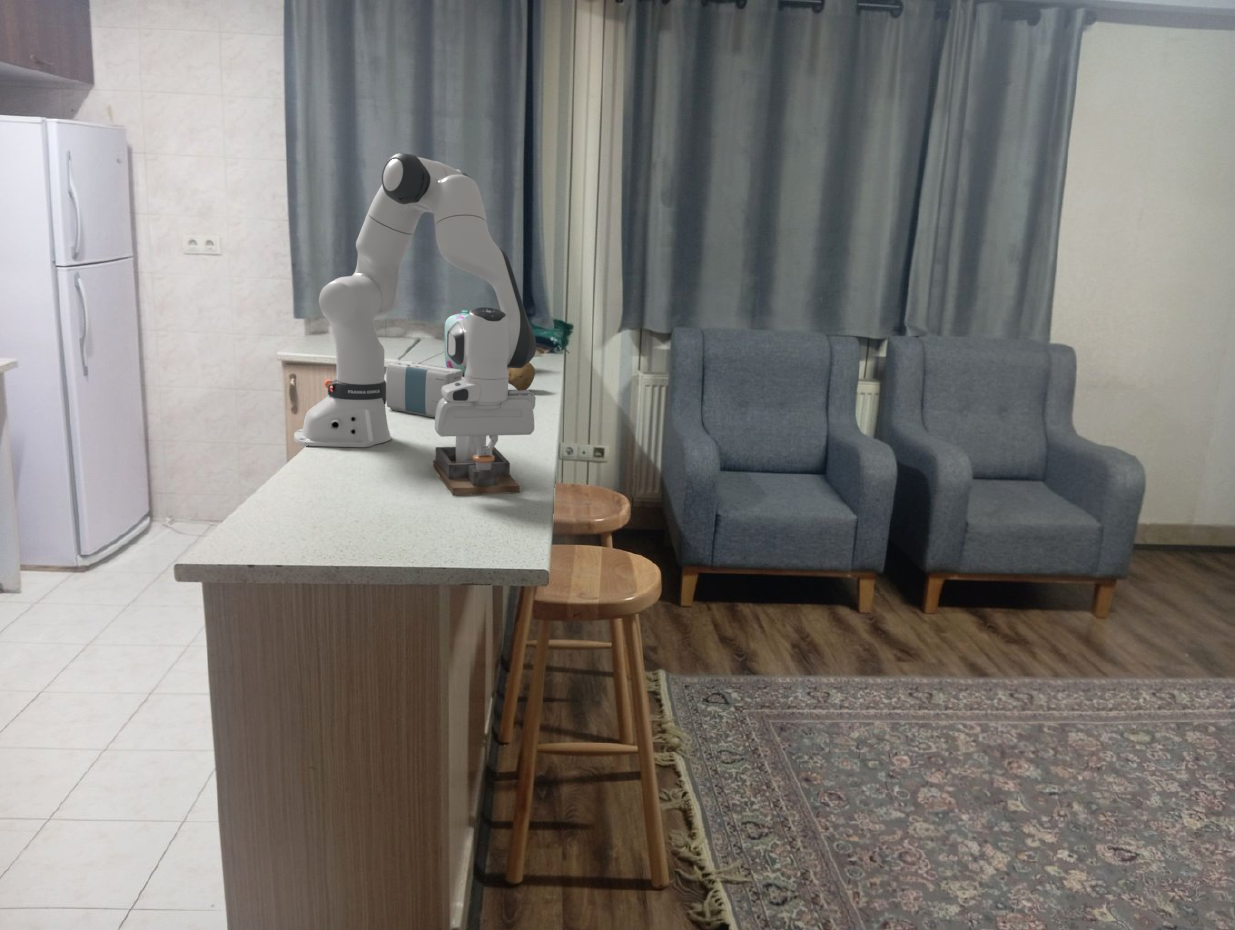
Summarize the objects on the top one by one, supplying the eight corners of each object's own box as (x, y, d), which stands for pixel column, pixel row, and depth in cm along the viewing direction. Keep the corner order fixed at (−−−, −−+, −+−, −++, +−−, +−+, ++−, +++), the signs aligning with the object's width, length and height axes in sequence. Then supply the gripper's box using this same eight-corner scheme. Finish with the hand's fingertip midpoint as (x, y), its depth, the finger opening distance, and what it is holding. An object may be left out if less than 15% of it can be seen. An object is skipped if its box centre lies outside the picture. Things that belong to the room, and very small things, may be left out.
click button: (474, 482, 206) (475, 459, 205) (470, 476, 210) (470, 453, 209) (496, 481, 208) (496, 458, 206) (491, 475, 212) (491, 453, 210)
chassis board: (452, 495, 204) (453, 473, 203) (433, 466, 224) (433, 447, 222) (519, 492, 209) (520, 471, 208) (494, 465, 229) (495, 445, 227)
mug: (456, 461, 223) (457, 408, 220) (486, 463, 224) (488, 410, 221) (451, 473, 214) (452, 418, 211) (483, 475, 214) (484, 419, 211)
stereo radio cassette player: (384, 410, 277) (384, 337, 272) (404, 406, 284) (404, 335, 279) (446, 422, 268) (447, 347, 263) (464, 417, 275) (466, 344, 270)
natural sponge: (504, 393, 312) (505, 361, 309) (506, 387, 320) (507, 356, 318) (533, 394, 312) (534, 362, 309) (534, 389, 321) (536, 358, 318)
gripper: (531, 386, 211) (529, 450, 214) (433, 387, 203) (432, 453, 207) (540, 392, 205) (537, 458, 208) (439, 393, 198) (438, 461, 201)
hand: (484, 456), depth 208 cm, fingers closed, pressing on click button
